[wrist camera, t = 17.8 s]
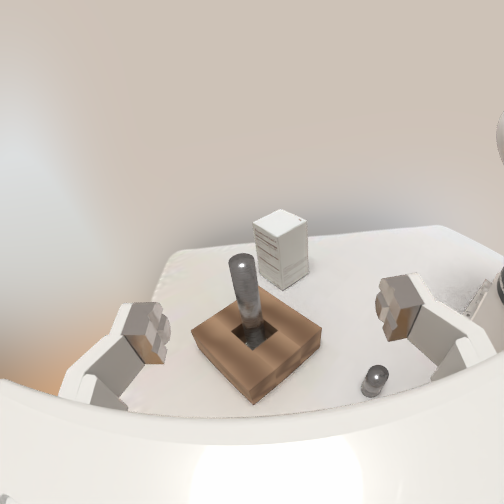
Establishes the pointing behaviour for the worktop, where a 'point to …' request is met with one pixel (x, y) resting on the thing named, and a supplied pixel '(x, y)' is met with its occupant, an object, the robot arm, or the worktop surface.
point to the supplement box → (281, 247)
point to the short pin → (374, 381)
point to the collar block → (266, 354)
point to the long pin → (248, 298)
